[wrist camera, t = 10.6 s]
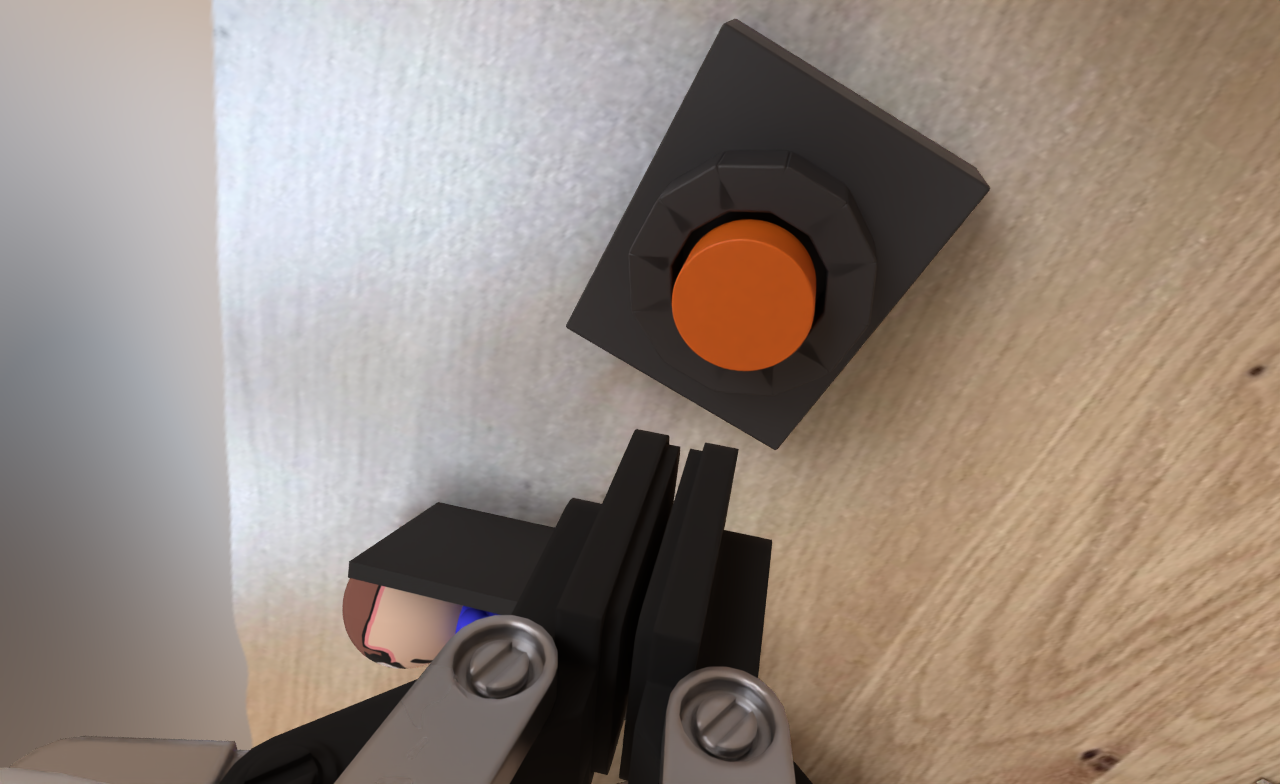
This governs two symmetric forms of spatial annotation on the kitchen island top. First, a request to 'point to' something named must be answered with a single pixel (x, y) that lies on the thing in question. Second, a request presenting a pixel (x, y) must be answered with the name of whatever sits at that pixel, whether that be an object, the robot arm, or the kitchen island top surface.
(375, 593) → the character figurine
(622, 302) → the control block
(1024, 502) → the kitchen island top surface
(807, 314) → the button
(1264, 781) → the figurine
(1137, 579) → the kitchen island top surface
